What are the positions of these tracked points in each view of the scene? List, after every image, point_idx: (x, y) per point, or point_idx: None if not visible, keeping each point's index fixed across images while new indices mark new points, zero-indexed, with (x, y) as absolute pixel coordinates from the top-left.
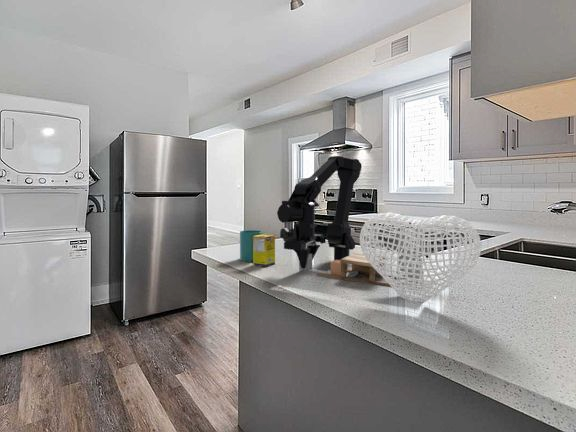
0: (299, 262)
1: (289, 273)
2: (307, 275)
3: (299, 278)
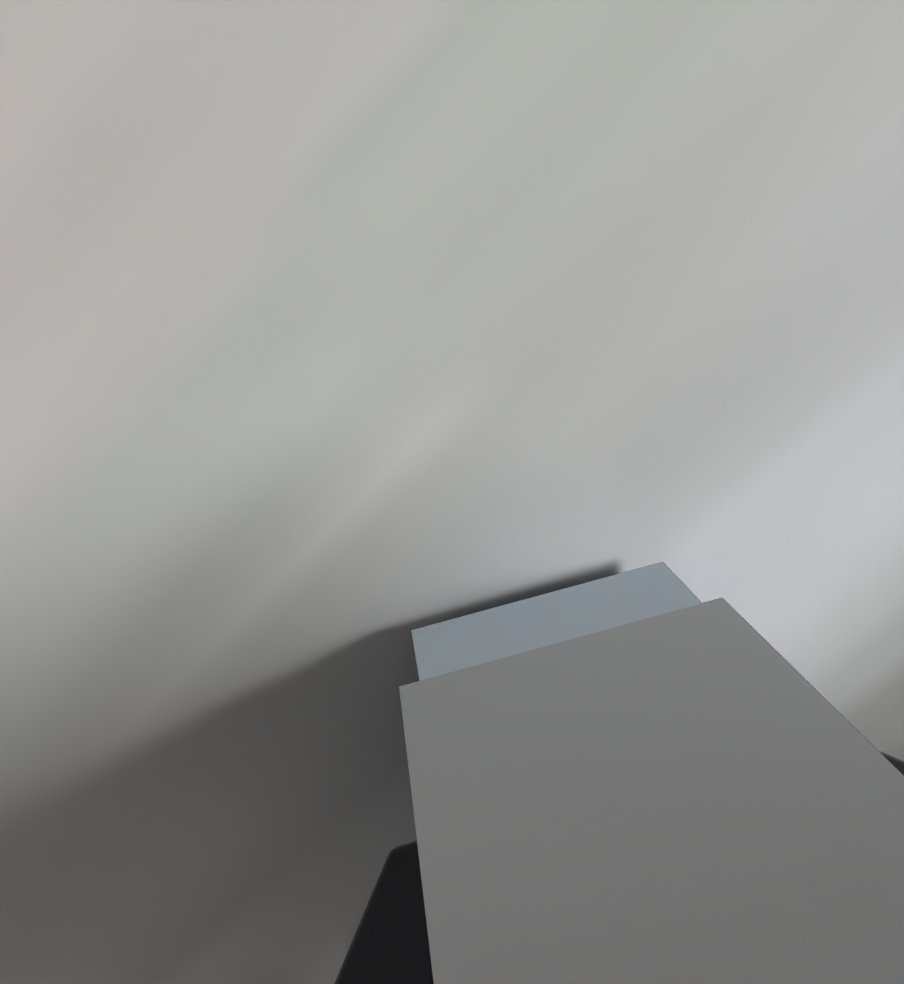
0: (429, 894)
1: (155, 420)
2: None
3: (26, 968)
